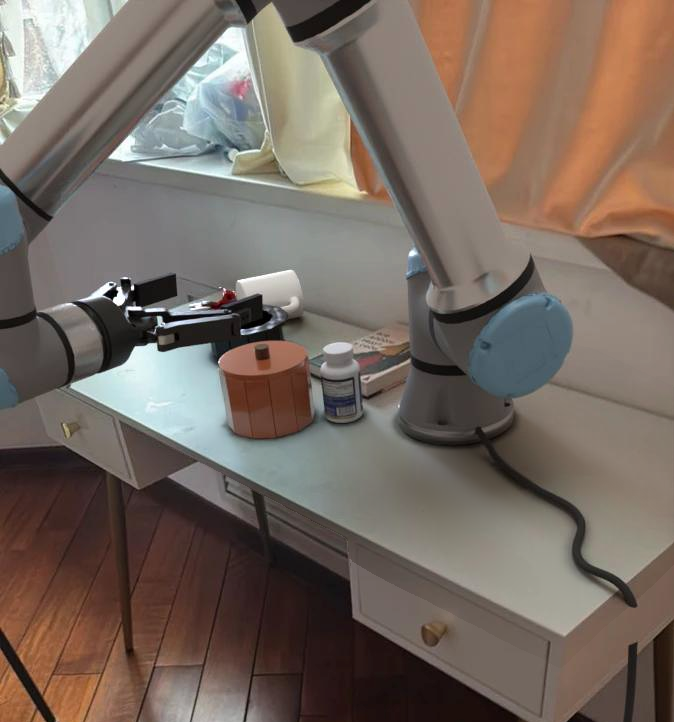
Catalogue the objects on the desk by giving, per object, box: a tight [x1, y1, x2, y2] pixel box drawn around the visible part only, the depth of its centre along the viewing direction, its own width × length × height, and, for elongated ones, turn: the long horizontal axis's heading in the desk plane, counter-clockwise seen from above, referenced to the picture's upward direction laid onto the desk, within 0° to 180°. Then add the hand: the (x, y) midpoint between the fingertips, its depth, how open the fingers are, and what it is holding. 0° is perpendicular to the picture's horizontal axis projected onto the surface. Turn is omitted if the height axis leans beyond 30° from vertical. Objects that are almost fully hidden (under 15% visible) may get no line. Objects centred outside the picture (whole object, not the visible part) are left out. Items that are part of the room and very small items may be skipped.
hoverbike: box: [188, 286, 237, 311], centre depth 152 cm, size 5×12×6 cm, turn 103°
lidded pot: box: [218, 340, 316, 439], centre depth 117 cm, size 12×12×10 cm
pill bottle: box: [319, 341, 364, 424], centre depth 116 cm, size 5×5×10 cm
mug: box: [235, 269, 304, 320], centre depth 148 cm, size 12×10×8 cm
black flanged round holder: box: [210, 304, 288, 364], centre depth 139 cm, size 14×14×6 cm
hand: (216, 294), depth 103 cm, fingers open, 13 cm apart
